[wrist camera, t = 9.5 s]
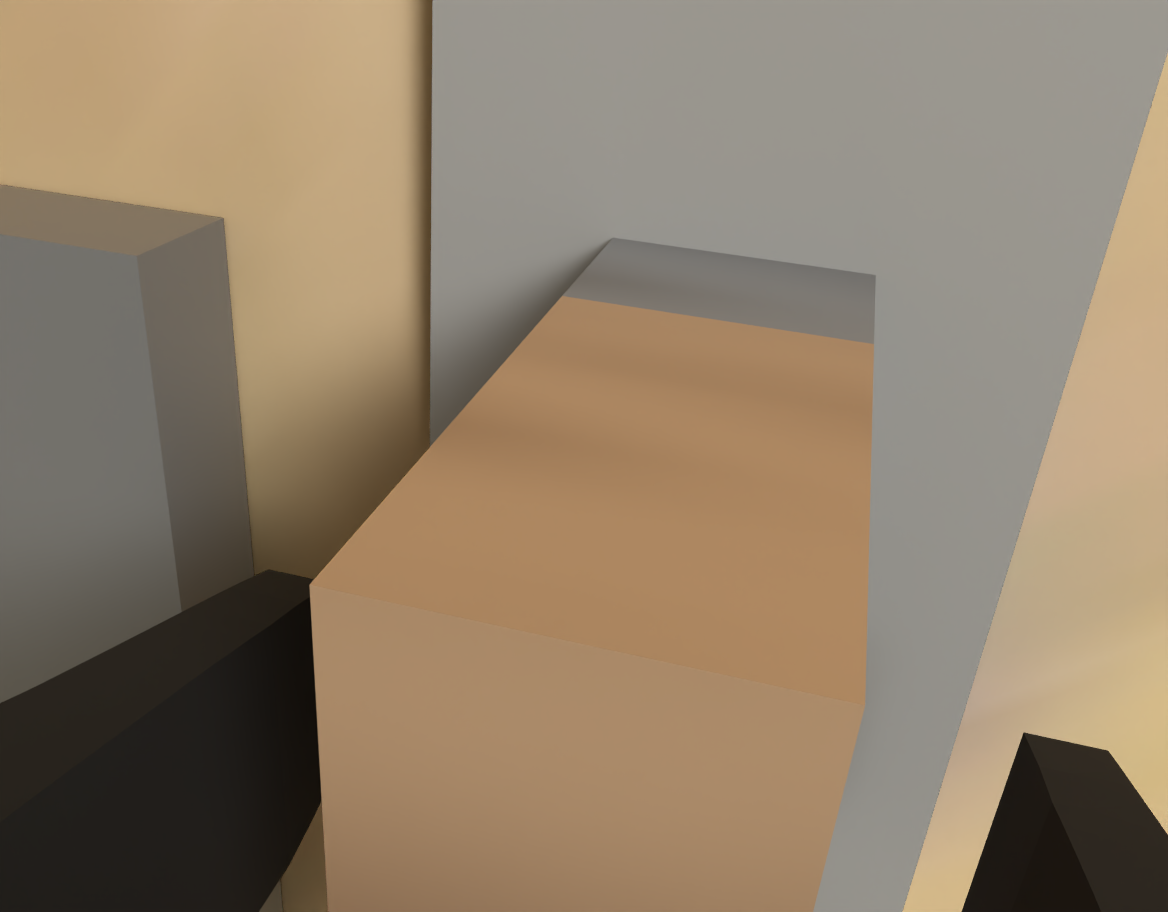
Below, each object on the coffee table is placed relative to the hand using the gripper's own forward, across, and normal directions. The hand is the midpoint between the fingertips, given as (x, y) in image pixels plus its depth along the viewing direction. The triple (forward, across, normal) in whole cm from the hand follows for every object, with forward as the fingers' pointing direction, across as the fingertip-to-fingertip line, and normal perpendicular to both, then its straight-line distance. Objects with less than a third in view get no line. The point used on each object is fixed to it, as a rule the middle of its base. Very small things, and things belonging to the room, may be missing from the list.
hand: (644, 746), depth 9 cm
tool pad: (+3, 0, 0) cm, 3 cm away
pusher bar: (+3, 0, 0) cm, 3 cm away
